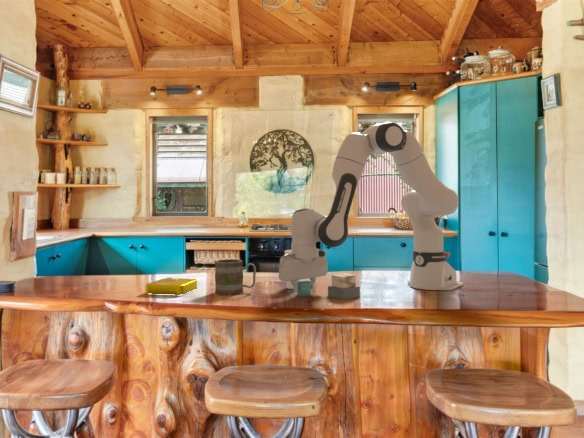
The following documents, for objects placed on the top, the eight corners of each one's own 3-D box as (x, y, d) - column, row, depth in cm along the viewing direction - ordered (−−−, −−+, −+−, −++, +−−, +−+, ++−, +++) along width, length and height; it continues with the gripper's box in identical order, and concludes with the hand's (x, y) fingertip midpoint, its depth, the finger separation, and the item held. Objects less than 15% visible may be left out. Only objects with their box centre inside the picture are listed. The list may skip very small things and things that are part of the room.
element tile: (143, 296, 151) (143, 283, 151) (164, 288, 166) (164, 276, 165) (180, 297, 148) (180, 284, 148) (199, 289, 162) (198, 277, 162)
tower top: (344, 284, 150) (344, 273, 150) (355, 286, 145) (355, 275, 145) (331, 285, 146) (331, 274, 146) (343, 288, 141) (342, 276, 141)
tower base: (344, 294, 151) (344, 283, 151) (359, 297, 145) (359, 286, 145) (328, 297, 146) (327, 285, 146) (343, 300, 140) (343, 289, 140)
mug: (211, 295, 149) (211, 263, 148) (217, 289, 159) (217, 259, 159) (254, 295, 148) (254, 262, 148) (258, 289, 159) (257, 259, 159)
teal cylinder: (304, 293, 151) (304, 280, 151) (313, 295, 147) (313, 281, 147) (294, 295, 148) (294, 281, 148) (302, 297, 144) (302, 283, 144)
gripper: (285, 255, 139) (285, 296, 139) (330, 251, 151) (330, 288, 151) (274, 254, 144) (275, 293, 144) (318, 250, 156) (319, 286, 156)
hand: (303, 290), depth 148 cm, fingers closed on teal cylinder, 5 cm apart
